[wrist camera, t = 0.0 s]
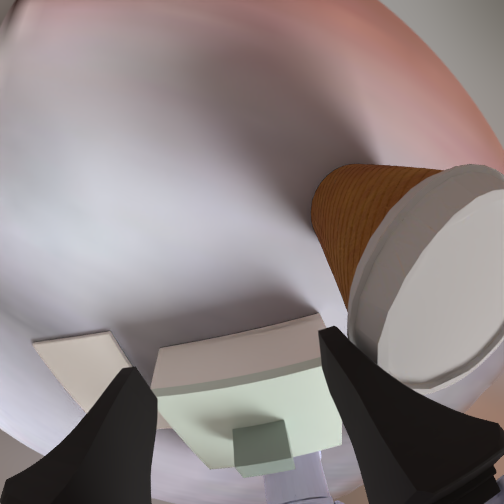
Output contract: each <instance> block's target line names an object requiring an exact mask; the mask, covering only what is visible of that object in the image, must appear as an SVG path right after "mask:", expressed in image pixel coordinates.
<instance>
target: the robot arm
mask: <svg viewBox="0 0 504 504" xmlns="http://www.w3.org/2000/svg"><path fill="white" fill-rule="evenodd" d="M318 336H319V345H320V354H321V364H322V370H323V373H324V376H325V380H326V383H327V386H328V389H329V392H330V394H331V397H332V399H333V401H334V403H335V406H336V408H337V410H338V412H339V415H340V417H341V419H342V421H343V424H344V426H345V428H346V431H347V433H348V435H349V437H350V440H351V443H352V445H353V448H354V451H355V454H356V458H357V461H358V464H359V468H360V471H361V475H362V479H363V482H364V486H365V490H366V493H367V497H368V501H369V504H504V475H503V476H501V477H500V478H499V479H498V480H495V478H494V476H493V475H494V474H496V469H495V468H494V466H493V465H494V464H495V463H496V462H497V461H498V460H499V459H500V458H501V457H502V456H503V455H504V430H503V429H502V428H501V427H500V425H499V424H498V423H495V422H491V421H487V420H483V419H479V418H475V417H472V416H469V415H466V414H464V413H461V412H458V411H455V410H453V409H451V408H448V407H446V406H444V405H442V404H439V403H437V402H435V401H433V400H431V399H429V398H427V397H425V396H423V395H421V394H420V393H418V392H416V391H414V390H413V389H411V388H409V387H408V386H406V385H405V384H403V383H402V382H400V381H399V380H397V379H396V378H394V377H393V376H391V375H390V374H389V373H387V372H386V371H385V370H383V369H382V368H381V367H380V366H378V365H377V364H376V363H375V362H373V361H372V360H371V359H370V358H369V357H367V356H366V355H365V354H364V353H363V352H362V351H361V350H359V349H358V348H357V347H356V346H355V345H354V344H353V343H352V342H351V341H350V340H349V339H348V338H347V337H346V336H345V335H344V334H343V333H342V332H341V331H340V330H339V329H338V328H337V327H336V326H332V327H329V328H325V329H322V330H318ZM157 418H158V399H157V397H156V396H155V394H154V393H153V392H152V390H151V389H150V387H149V386H148V384H147V383H146V382H145V380H144V379H143V377H142V376H141V374H140V373H139V371H138V370H137V368H136V367H127V368H122V369H121V370H120V372H119V373H118V374H117V375H116V376H115V378H114V379H113V380H112V382H111V383H110V384H109V385H108V387H107V388H106V389H105V391H104V392H103V393H102V395H101V396H100V397H99V399H98V400H97V401H96V403H95V404H94V405H93V407H92V408H91V409H90V410H89V412H88V413H87V414H86V415H85V416H84V418H83V419H82V420H81V421H80V422H79V424H78V425H77V426H76V427H75V428H74V429H73V430H72V432H71V433H70V434H69V435H68V436H67V437H66V438H65V439H64V440H63V441H62V442H61V443H60V444H59V445H57V446H56V447H55V448H54V449H53V450H52V451H50V452H49V453H48V454H47V455H46V456H44V457H43V458H42V459H40V460H39V461H38V462H36V463H35V464H33V465H32V466H31V467H29V468H27V469H26V470H24V471H22V472H20V473H19V474H17V475H15V476H13V477H11V478H9V479H7V480H6V482H5V485H4V488H3V491H2V495H1V498H0V503H1V504H152V503H151V464H152V457H153V449H154V442H155V435H156V428H157ZM293 459H294V464H295V469H293V470H289V471H284V472H278V473H273V474H267V475H263V478H264V486H265V493H266V501H267V504H344V503H343V502H340V501H339V500H337V501H334V503H333V499H332V496H330V494H329V490H328V486H327V482H326V478H325V475H324V471H323V467H322V463H321V451H317V452H313V453H309V454H305V455H301V456H296V457H293Z"/></svg>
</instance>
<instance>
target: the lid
mask: <svg viewBox="0 0 504 504" xmlns="http://www.w3.org/2000/svg"><path fill="white" fill-rule="evenodd" d="M151 390H152V392H153V393H154V394H155V396H156V397H157V399H158V411H159V412H160V413H161V415H162V416H163V417H164V418H165V420H166V421H167V422H168V423H169V425H170V426H171V427H172V428H173V429H174V431H175V432H176V433H177V434H178V435H179V436H180V438H181V439H182V440H183V441H184V442H185V443H186V444H187V445H188V447H189V448H190V449H191V450H192V451H193V452H194V453H195V454H196V455H197V456H198V457H199V459H200V460H201V461H202V462H203V463H204V464H205V465H206V466H207V467H208V468H209V469H220V468H230V467H235V468H236V470H237V471H238V472H239V473H240V474H241V476H242V477H243V478H246V477H254V476H260V475H267V474H273V473H278V472H284V471H289V470H293V469H295V464H294V459H293V457H296V456H301V455H305V454H309V453H313V452H317V451H321V450H324V449H328V448H331V447H335V446H338V445H341V441H342V419H341V417H340V415H339V412H338V410H337V408H336V406H335V403H334V401H333V399H332V397H331V394H330V392H329V389H328V386H327V383H326V380H325V376H324V373H323V370H322V364H321V357H318V358H315V359H311V360H307V361H304V362H300V363H296V364H292V365H288V366H284V367H280V368H275V369H271V370H267V371H262V372H257V373H253V374H248V375H243V376H238V377H232V378H227V379H221V380H215V381H209V382H203V383H196V384H190V385H182V386H174V387H166V388H157V389H151Z"/></svg>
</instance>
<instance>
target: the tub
mask: <svg viewBox="0 0 504 504" xmlns="http://www.w3.org/2000/svg"><path fill="white" fill-rule="evenodd" d="M325 328H326V326H325V324H324V322H323V320H322V317H321V315H320V313H318V314H314V315H310V316H306V317H303V318H299V319H295V320H291V321H287V322H283V323H279V324H275V325H271V326H267V327H263V328H258V329H254V330H249V331H245V332H240V333H236V334H231V335H226V336H222V337H217V338H212V339H207V340H201V341H196V342H191V343H185V344H180V345H174V346H168V347H162V348H159V352H158V357H157V361H156V365H155V370H154V374H153V378H152V383H151V388H150V389H157V388H166V387H174V386H182V385H190V384H196V383H203V382H209V381H215V380H221V379H227V378H232V377H238V376H243V375H248V374H253V373H257V372H262V371H267V370H271V369H275V368H280V367H284V366H288V365H292V364H296V363H300V362H304V361H307V360H311V359H315V358H318V357H321V354H320V345H319V336H318V330H322V329H325Z"/></svg>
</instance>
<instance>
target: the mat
mask: <svg viewBox="0 0 504 504" xmlns="http://www.w3.org/2000/svg"><path fill="white" fill-rule="evenodd" d="M32 345H33V347H34V348H35V350H36V351H37V353H38V354H39V355H40V357H41V358H42V360H43V361H44V362H45V364H46V365H47V366H48V368H49V369H50V370H51V372H52V373H53V374H54V376H55V377H56V378H57V379H58V381H59V382H60V383H61V384H62V386H63V387H64V388H65V389H66V391H67V392H68V393H69V394H70V395H71V396H72V398H73V399H74V400H75V401H76V402H77V403H78V404H79V406H80V407H81V408H82V409H83V410H84V411H85V412H86V413H88V412H89V410H90V409H91V408H92V407H93V405H94V404H95V403H96V401H97V400H98V399H99V397H100V396H101V395H102V393H103V392H104V391H105V389H106V388H107V387H108V385H109V384H110V383H111V382H112V380H113V379H114V378H115V376H116V375H117V374H118V373H119V372H120V370H121V369H122V368H127V367H132V365H131V364H130V362H129V361H128V359H127V357H126V356H125V354H124V353H123V351H122V349H121V348H120V346H119V345H118V343H117V341H116V340H115V338H114V336H113V335H112V333H111V331H107V332H101V333H95V334H89V335H82V336H76V337H69V338H62V339H55V340H47V341H40V342H34V343H33V344H32ZM169 428H172V427H171V426H170V425H169V423H168V422H167V421H166V420H165V418H164V417H163V416H162V415H161V413H160V412H159V411H158V418H157V428H156V429H169Z"/></svg>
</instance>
